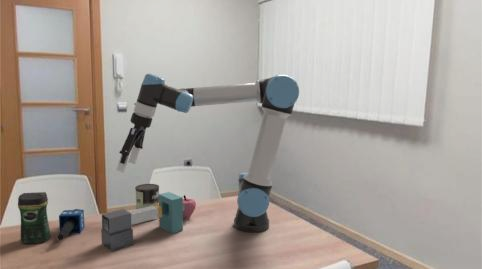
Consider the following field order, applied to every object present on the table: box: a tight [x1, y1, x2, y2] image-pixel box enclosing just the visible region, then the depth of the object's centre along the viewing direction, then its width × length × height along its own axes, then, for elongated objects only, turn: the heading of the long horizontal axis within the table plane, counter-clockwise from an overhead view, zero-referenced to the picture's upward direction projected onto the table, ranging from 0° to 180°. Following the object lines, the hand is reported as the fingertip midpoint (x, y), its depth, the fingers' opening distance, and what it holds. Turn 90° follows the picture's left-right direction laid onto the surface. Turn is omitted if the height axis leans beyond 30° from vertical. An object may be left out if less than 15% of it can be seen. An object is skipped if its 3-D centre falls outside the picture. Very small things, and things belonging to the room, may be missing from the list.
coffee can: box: [135, 183, 160, 222], centre depth 163 cm, size 10×10×14 cm
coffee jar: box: [17, 191, 51, 245], centre depth 137 cm, size 10×8×19 cm
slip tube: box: [103, 205, 162, 231], centre depth 139 cm, size 4×22×4 cm, turn 134°
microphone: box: [56, 208, 85, 241], centre depth 144 cm, size 8×8×25 cm
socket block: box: [158, 191, 184, 234], centre depth 151 cm, size 10×5×14 cm, turn 44°
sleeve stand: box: [100, 208, 134, 253], centre depth 135 cm, size 8×8×12 cm
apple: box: [182, 194, 197, 220], centre depth 163 cm, size 10×9×10 cm
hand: (126, 167), depth 139 cm, fingers open, 13 cm apart
